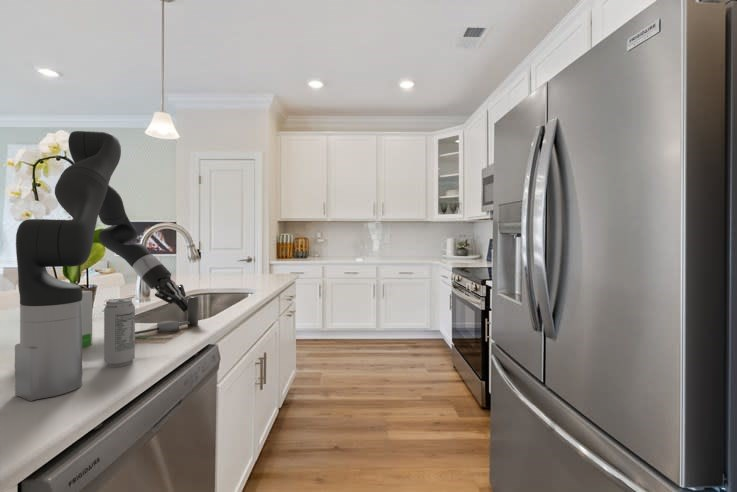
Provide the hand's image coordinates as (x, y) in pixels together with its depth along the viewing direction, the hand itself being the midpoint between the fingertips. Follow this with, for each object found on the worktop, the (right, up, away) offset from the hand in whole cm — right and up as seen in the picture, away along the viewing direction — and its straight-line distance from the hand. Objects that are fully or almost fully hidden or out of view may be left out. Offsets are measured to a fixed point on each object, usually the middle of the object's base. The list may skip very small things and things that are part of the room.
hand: (187, 309), depth 121 cm
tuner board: (-3, -6, -10) cm, 12 cm away
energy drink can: (0, -7, -33) cm, 34 cm away
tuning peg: (-2, -5, -8) cm, 9 cm away
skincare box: (-18, -7, -26) cm, 32 cm away
